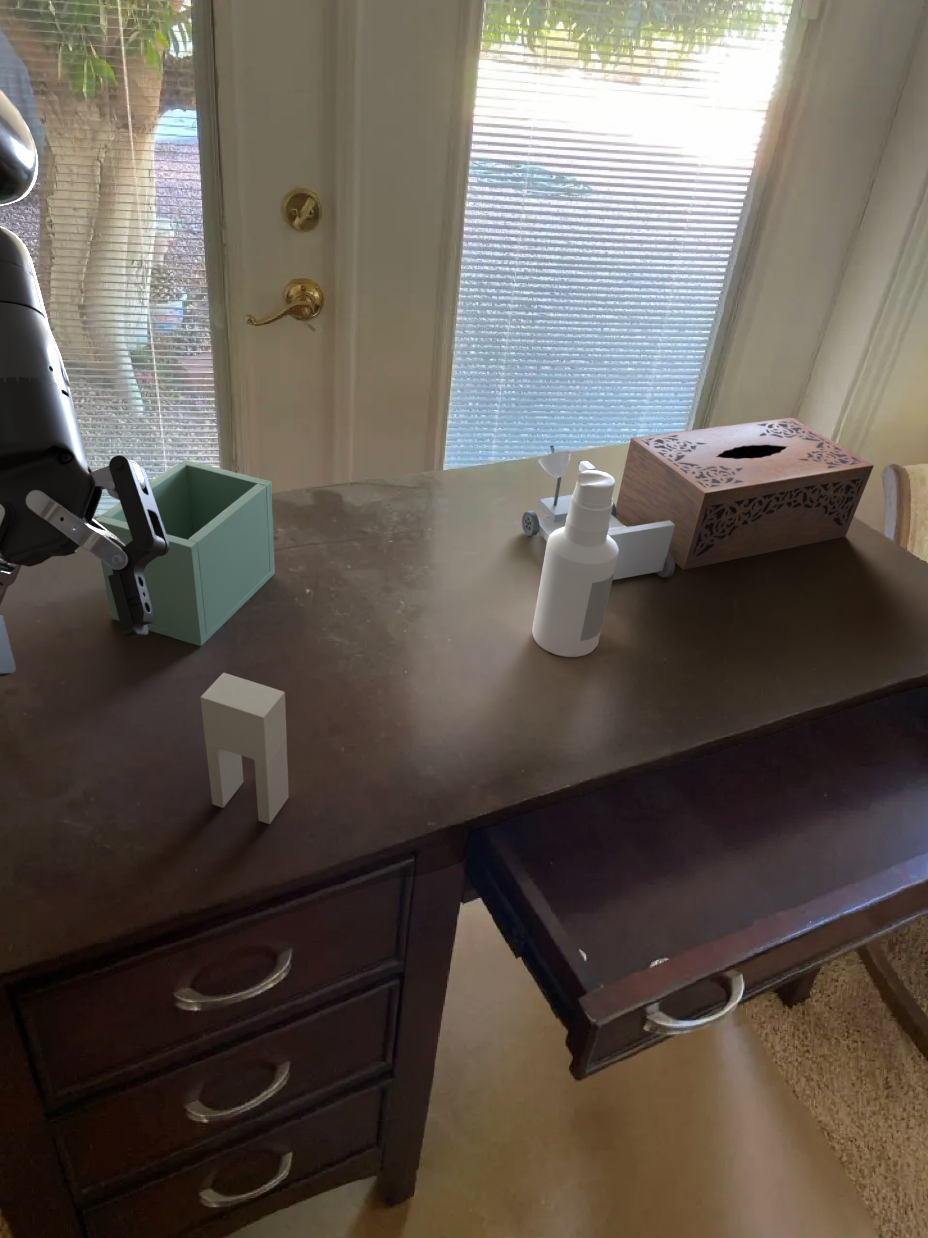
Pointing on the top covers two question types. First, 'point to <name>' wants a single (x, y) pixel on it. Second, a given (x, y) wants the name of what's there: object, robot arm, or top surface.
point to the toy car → (636, 544)
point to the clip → (246, 741)
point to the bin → (202, 548)
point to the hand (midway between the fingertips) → (69, 655)
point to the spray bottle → (578, 571)
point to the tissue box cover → (742, 489)
